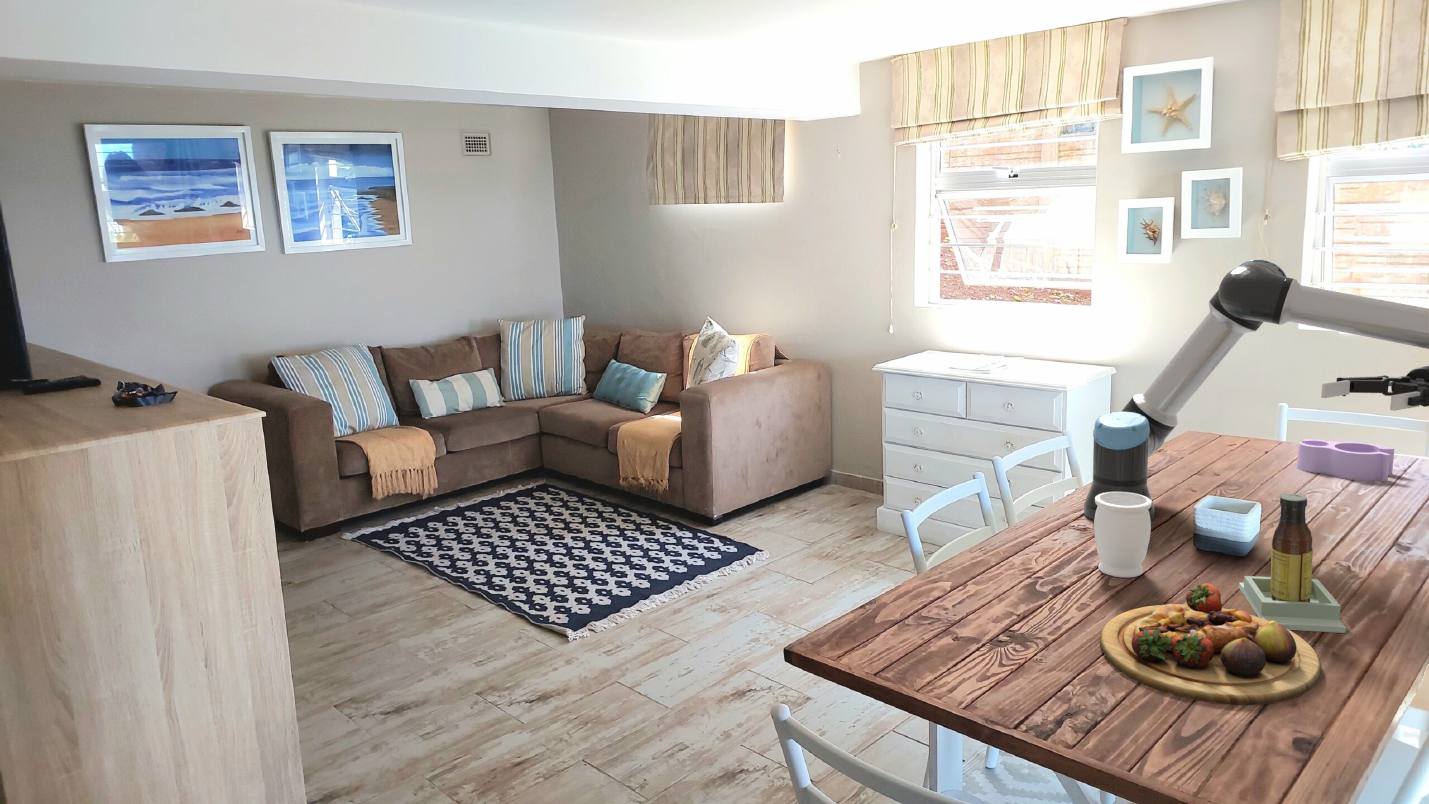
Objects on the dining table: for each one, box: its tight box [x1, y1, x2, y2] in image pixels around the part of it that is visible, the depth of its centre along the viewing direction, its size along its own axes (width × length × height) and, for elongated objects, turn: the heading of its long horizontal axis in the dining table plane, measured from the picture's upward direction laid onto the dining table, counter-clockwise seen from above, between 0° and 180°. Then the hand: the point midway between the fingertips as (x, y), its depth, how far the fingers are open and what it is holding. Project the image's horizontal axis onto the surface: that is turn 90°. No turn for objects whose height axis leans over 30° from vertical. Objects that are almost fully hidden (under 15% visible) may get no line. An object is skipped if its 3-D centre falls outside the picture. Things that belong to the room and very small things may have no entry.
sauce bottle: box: [1270, 493, 1314, 602], centre depth 169 cm, size 7×6×20 cm
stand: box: [1238, 575, 1347, 634], centre depth 171 cm, size 12×18×4 cm, turn 165°
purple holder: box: [1296, 438, 1395, 482], centre depth 247 cm, size 20×12×7 cm, turn 47°
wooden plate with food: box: [1099, 583, 1322, 706], centre depth 156 cm, size 32×32×8 cm
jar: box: [1093, 492, 1153, 579], centre depth 191 cm, size 11×10×15 cm
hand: (1356, 396), depth 181 cm, fingers open, 13 cm apart
